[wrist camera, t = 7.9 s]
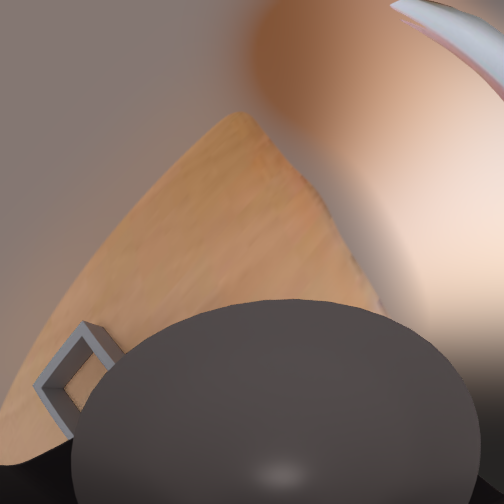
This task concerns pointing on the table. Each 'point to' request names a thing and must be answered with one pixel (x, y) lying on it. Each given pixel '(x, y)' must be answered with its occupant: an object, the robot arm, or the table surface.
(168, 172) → the table surface
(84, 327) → the socket
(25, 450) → the table surface
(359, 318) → the plug
